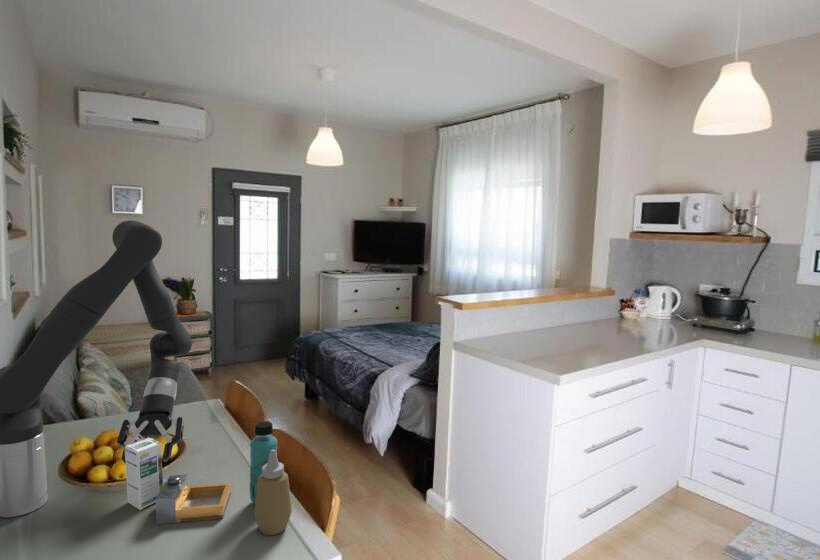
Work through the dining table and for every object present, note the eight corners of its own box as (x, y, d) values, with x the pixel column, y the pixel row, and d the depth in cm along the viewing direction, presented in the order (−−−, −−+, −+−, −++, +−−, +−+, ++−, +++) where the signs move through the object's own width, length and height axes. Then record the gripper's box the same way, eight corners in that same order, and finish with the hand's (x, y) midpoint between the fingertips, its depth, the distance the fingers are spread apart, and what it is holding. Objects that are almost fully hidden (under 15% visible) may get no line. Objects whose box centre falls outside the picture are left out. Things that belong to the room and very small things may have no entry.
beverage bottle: (243, 506, 112) (242, 426, 110) (262, 492, 118) (261, 416, 116) (266, 513, 109) (265, 431, 107) (283, 498, 116) (283, 421, 113)
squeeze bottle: (281, 542, 100) (281, 462, 98) (247, 536, 101) (246, 457, 99) (298, 519, 108) (298, 444, 106) (265, 514, 109) (265, 440, 107)
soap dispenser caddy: (156, 524, 104) (155, 495, 104) (170, 498, 114) (169, 472, 113) (223, 518, 107) (222, 490, 106) (230, 494, 117) (230, 468, 116)
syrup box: (140, 511, 109) (137, 451, 108) (126, 502, 112) (124, 444, 111) (164, 499, 114) (162, 442, 112) (150, 491, 117) (148, 436, 115)
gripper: (124, 393, 118) (107, 459, 109) (185, 391, 121) (173, 454, 111) (133, 406, 124) (118, 469, 114) (191, 403, 127) (180, 464, 117)
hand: (145, 461), depth 113 cm, fingers open, 8 cm apart
